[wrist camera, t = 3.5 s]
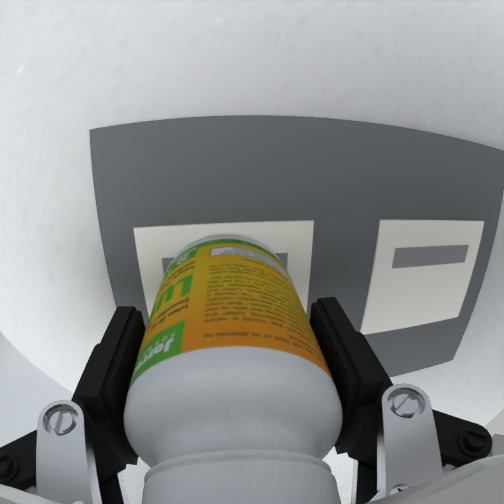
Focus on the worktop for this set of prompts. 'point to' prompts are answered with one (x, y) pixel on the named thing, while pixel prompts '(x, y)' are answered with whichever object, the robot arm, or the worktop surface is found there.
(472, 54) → the worktop surface
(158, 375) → the supplement bottle
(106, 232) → the label mat
